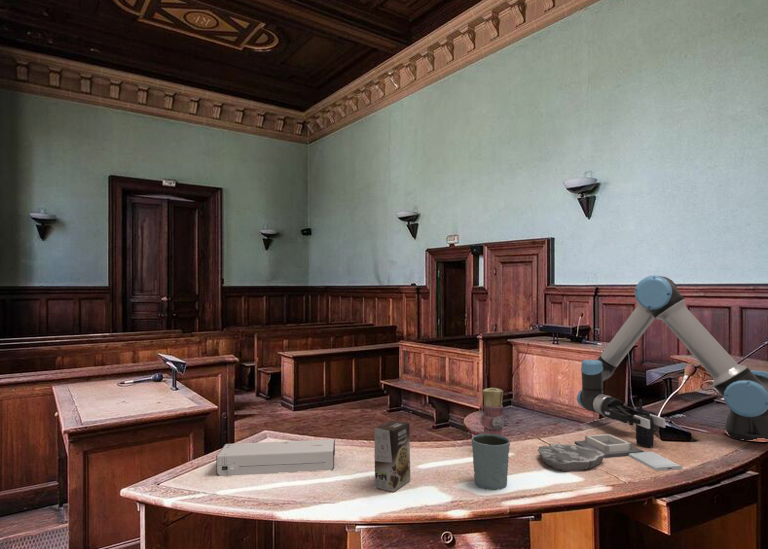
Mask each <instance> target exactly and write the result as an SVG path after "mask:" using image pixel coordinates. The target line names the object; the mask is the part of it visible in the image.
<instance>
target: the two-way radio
mask: <svg viewBox="0 0 768 549" xmlns="http://www.w3.org/2000/svg"><path fill="white" fill-rule="evenodd" d="M638 401H639V402H638V403H639V404H638V407H639V414H638V415H637V416H640V417H642V418H645V419H648V420H650V429H647V428H645V427H642V426H639V425H637V424H635V440H636V445H637V446H642V447H647V448H653V447H654V444H655V442H654V437H655V433H654V432H655V431H654V430H655V424H654V422H653V418H652V417H651V416H650V413H649V412H646V415H643V414H642V409H643V400H642V399H639V400H638Z"/></svg>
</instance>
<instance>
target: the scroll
mask: <svg viewBox="0 0 768 549" xmlns="http://www.w3.org/2000/svg"><path fill="white" fill-rule="evenodd" d="M482 395H483V405H482V406H483V408H482V409H483V414H481V415H480V419H479V420H480V421H479V422H480V424H481V427H483V432H482V434H495V435H500V436H503V435H504V432H503V428H504V426H505V420H504V418H503V417H504V415H503V410H504V406H503V398H504V397H503V395H504V390H503V389H501V388H498V387H489V388H487V387H486V388H484V389H483V390H482Z"/></svg>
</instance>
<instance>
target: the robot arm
mask: <svg viewBox="0 0 768 549" xmlns="http://www.w3.org/2000/svg"><path fill="white" fill-rule="evenodd" d="M634 297H635V300H636V303H637V306H636V307H635V309H633V311H632V313H631V314H630V315H629V316H628V318H627V319H626V320H625V321H624V323H623V324H622V326H621V327H620V328H619V330H618V331H617V333H616V334H615V335H614V337H612V339H611V340H610V341H609V343H608V344H607V345H606V347H605V349H603V351H602V353H600V355H599V356H598V358H597V359H584V360H582V361H581V369H580V371H581V390H579V391H578V394H577V396H576V401H577V403H578V405H579V406H580V407H581V408H583V409H585V410H587V411H590V412H593V413H596V414H598V415H601V416H603V418H607V419H611V420H615V421H619V422H621V423H624V424H627V423H628V424H629V426H633V425H636V424H637V425H639V426H642V427H645V428H647V429H650V420H648V419H645V418H642V417H640V416H637V415H638V414H639V406H638V405H637V406H636V405H635V406H634V407H631V406H628V405H626V404H625V403H623V400H620V399H618V398H616V397H613V396H610V395H607V394H604V381H606V380H609V379H610V378H611V377H612V376H613V375H614V373H615V370H616V369H617V368H618V366H619V365H620V364H621V362H622V361H623V360H624V358H625V357H626V356H627V355H628V353H630V351H631V350H632V348H633V347H634V346H635V345H636V343H637V342H638V341H639V339H640V338H641V337H642V336H643V334H644V333H645V331H647V329H648V328H649V327H650V325H651V324H652V323H653V321H654V320H660V321H662V322H664V324H666V326H667V327H668V328H669V329H670V330H671V332H672V333H673V334H674V335H675V336H676V337H677V338H678V340H680V342H681V343H682V344H683V345H684V347H685V348H686V349H687V350H688V351H689V352H690V354H692V356H693V357H694V358H695V359H696V360H697V361H698V362H699V364H700V365H701V366H702V367H703V368H704V369H705V371H706V372H707V373H708V374H709V375H710V376H711V377H712V378H713V380H712V381H713V382H712V386H713V387H714V389H716V390H717V392H718V393H719V394H720V395H721V397H722V398H723V400H724V403H725V405H726V406H727V407H728V408H729V413H728V415H727V419H726V423H725V425H724V428H723V429H725V430H726V431H727V432H728V434H729V435H730V436H731V437H730V438H732V437H734V438H733V439H735V438H737V439H736V440H738V439H744V440H753V439H757V438H765V439H768V371H765V370H753V369H752V370H751V369H750V368H749V367H748V366H746V365H742V364H739V363H737V362H736V360H735V359H734V358H733V357H732V356H731V355H730V354H729V353H728V352H727V350H725V348H724V347H723V346H722V345H721V344H720V343H719V342H718V341H717V340H716V339H715V337H714V336H712V334H711V333H710V331H708V330H707V329H706V327H705V326H704V325H703V324H702V323H701V322H700V320H698V318H697V317H695V315H693V313H692V312H691V311H690V310H689V309H688V308H687V306H686V298H685V297H684V295H682V294H681V293H680V291H679V290H678V286H677V285H676V283H675V282H674V281H673V280H672V279H670V277H666V276H662V275H649V276H646V277H644V278H642V279H640V280H639V281H638V283H637V284H636V285H635V289H634ZM646 412H649V413H650V416H651V417H652V418H653V422H654V426H657V427H661V428H664V429H665V428H666V418H663V417H661V416H657V415H656V412H653V411H652V410H651V411H650V410H647V409H644V408H642V414H643V415H646Z"/></svg>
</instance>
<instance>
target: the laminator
mask: <svg viewBox="0 0 768 549" xmlns="http://www.w3.org/2000/svg"><path fill="white" fill-rule="evenodd" d="M335 443H336V440H335V439H318V440H317V439H315V440H314V439H312V440H310V439H309V440H291V441H290V440H288V441H267V442H246V443H245V442H244V443H241V442H240V443H226V444H224V445H223V446H222V448H221V449H220V450H219V452H218V453H217V454H216V456H215V460H216V462H215V463H216V466H215V467H216V470H215V472H216V475H217V476H218V477H221V476H224V477H225V476H242V475H243V476H246V475H261V474H262V475H265V474H280V473H279V472H289V473H298V472H297V471H310V472H318V471H317V470H330V471H333V470H334V469H335V455H336V444H335Z"/></svg>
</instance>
